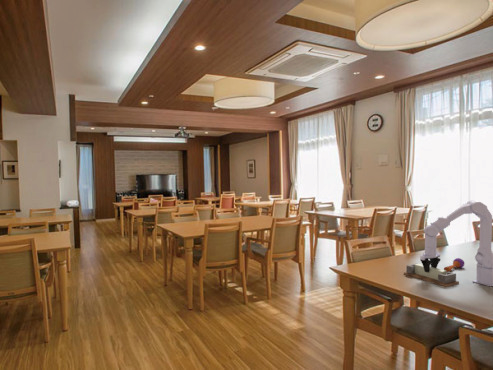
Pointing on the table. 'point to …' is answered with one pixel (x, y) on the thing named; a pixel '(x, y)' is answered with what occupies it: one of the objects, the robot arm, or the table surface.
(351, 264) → the table surface
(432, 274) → the slat
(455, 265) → the brown piece
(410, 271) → the cradle
